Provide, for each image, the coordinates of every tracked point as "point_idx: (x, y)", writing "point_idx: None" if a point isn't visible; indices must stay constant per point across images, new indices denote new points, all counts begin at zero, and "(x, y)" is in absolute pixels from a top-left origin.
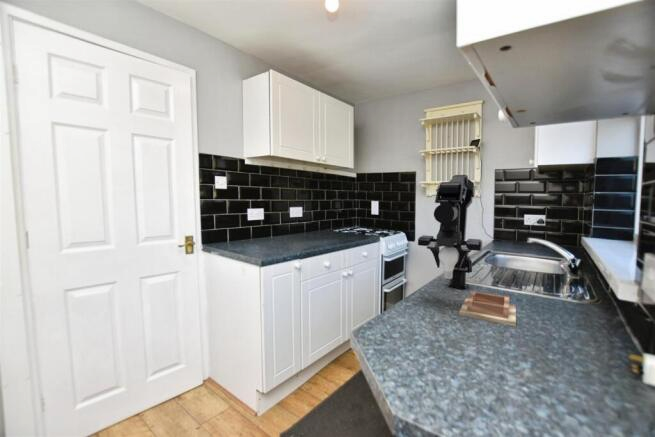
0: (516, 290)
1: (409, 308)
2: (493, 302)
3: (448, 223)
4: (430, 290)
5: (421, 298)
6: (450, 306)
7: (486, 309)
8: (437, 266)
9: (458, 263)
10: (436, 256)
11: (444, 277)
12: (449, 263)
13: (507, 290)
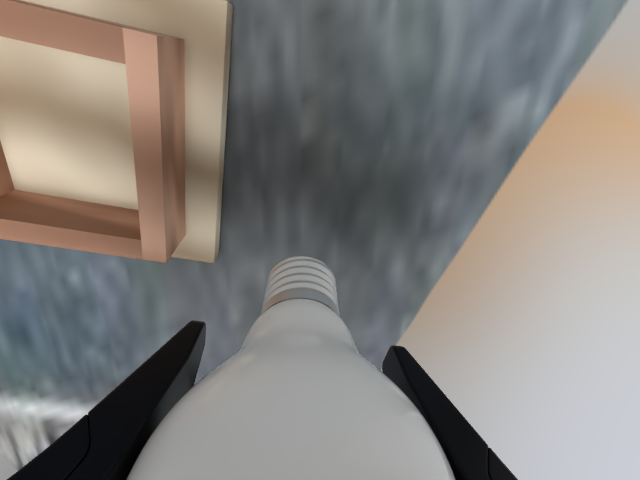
0: (57, 417)
1: (528, 22)
2: (59, 204)
3: None
4: (373, 328)
5: (427, 218)
6: (287, 152)
7: (38, 5)
8: (408, 354)
9: (164, 379)
10: (479, 474)
11: (329, 268)
12: (283, 345)
13: (85, 409)
